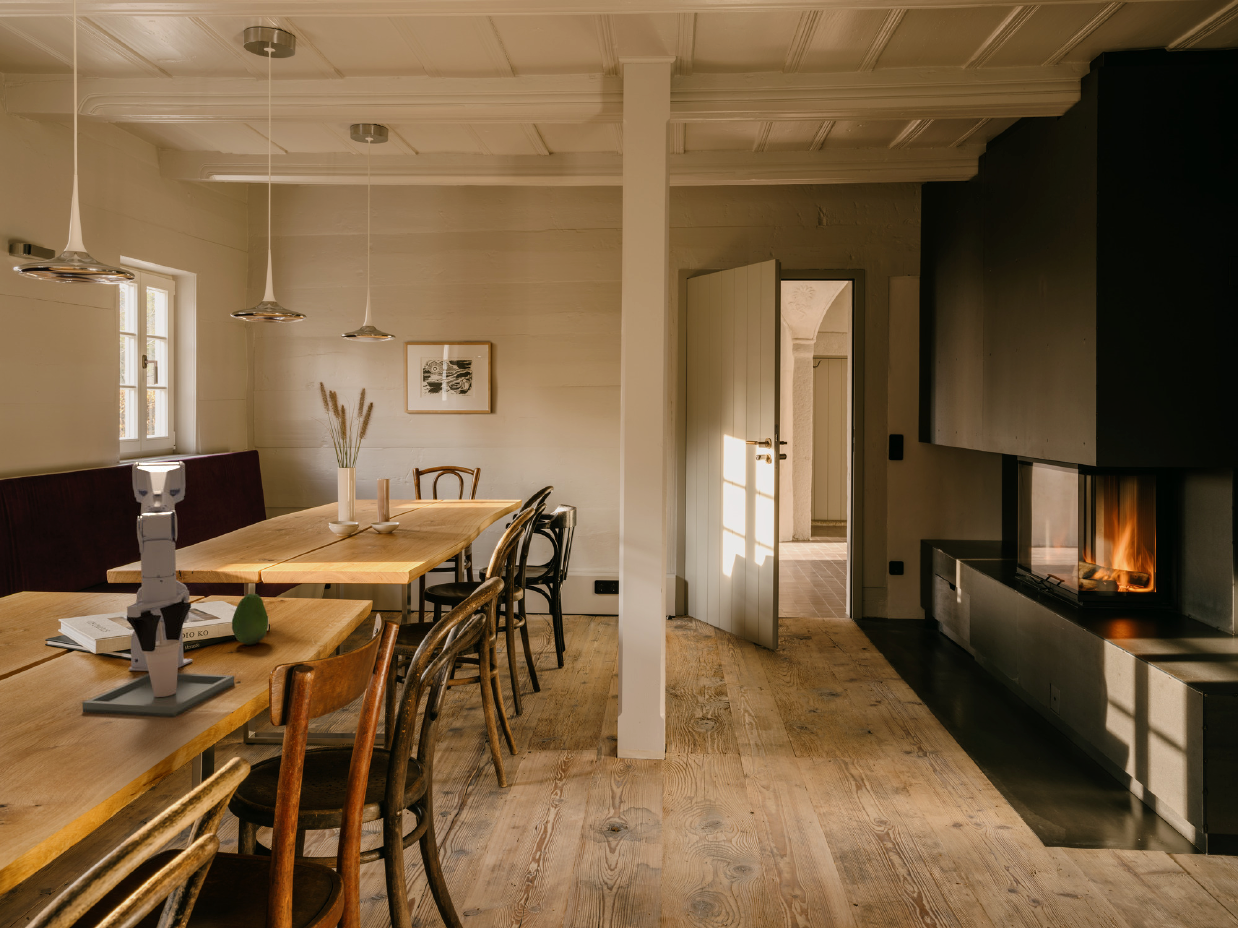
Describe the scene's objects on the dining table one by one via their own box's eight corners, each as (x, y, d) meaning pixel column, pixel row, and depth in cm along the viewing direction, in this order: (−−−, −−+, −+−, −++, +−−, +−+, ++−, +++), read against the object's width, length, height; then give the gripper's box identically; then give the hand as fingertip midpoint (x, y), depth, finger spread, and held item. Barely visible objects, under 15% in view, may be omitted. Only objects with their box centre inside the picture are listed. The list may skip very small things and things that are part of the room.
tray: (82, 711, 147) (82, 702, 147) (152, 680, 165) (152, 671, 165) (173, 716, 145) (173, 707, 145) (234, 684, 163) (234, 675, 163)
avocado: (275, 639, 196) (274, 590, 195) (257, 649, 188) (256, 597, 187) (243, 638, 196) (242, 589, 196) (224, 647, 189) (223, 597, 188)
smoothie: (147, 701, 150) (141, 627, 150) (144, 693, 156) (138, 621, 155) (186, 693, 154) (180, 620, 153) (182, 686, 159) (176, 615, 159)
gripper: (151, 583, 146) (153, 657, 147) (202, 568, 160) (204, 636, 161) (115, 582, 147) (118, 655, 148) (170, 567, 161) (171, 635, 162)
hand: (160, 645), depth 154 cm, fingers closed on smoothie, 6 cm apart
